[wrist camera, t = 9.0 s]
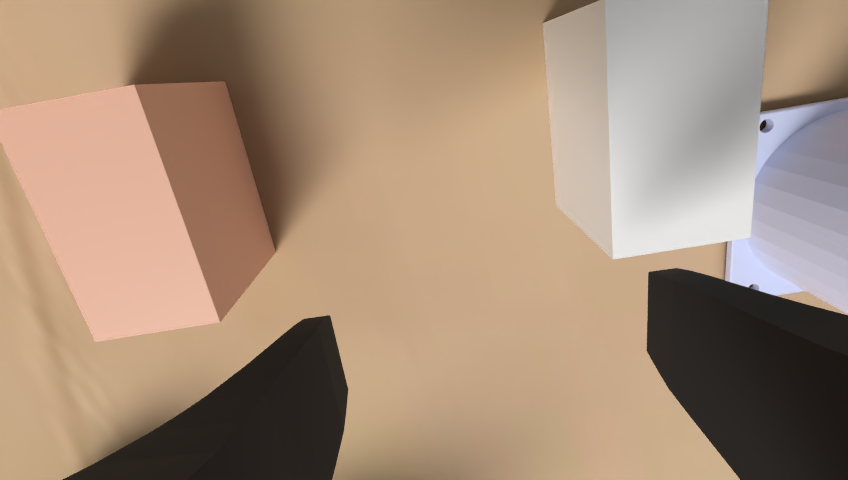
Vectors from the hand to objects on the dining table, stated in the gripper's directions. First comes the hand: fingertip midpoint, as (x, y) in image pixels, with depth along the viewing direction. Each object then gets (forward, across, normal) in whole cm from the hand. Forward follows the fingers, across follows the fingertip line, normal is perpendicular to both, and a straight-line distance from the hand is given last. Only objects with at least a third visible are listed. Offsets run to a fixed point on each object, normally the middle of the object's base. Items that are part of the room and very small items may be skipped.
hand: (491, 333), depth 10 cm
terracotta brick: (+9, +10, -3) cm, 14 cm away
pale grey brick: (+10, -6, -3) cm, 12 cm away
